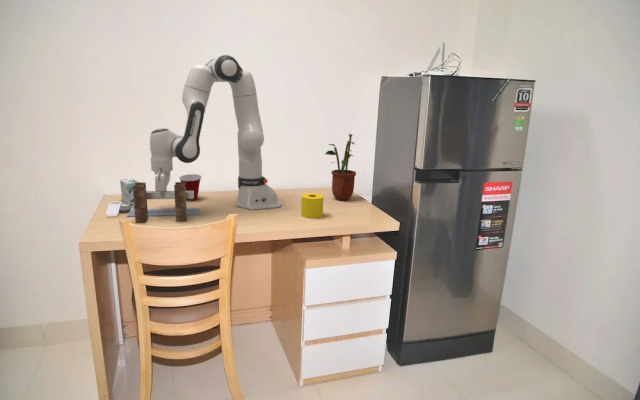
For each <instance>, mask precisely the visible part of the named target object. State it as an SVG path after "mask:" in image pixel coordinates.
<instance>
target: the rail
mask: <svg viewBox="0 0 640 400" xmlns="http://www.w3.org/2000/svg"><path fill="white" fill-rule="evenodd" d="M146 194H147V200H175V193H174V190H166V191H165V198H163V199H161V197H160V192H156V190H146ZM132 199H134V196H133V191H132V192H131V200H132ZM186 199H194V191H186Z"/></svg>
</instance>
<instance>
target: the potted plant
mask: <svg viewBox="0 0 640 400" xmlns="http://www.w3.org/2000/svg"><path fill="white" fill-rule="evenodd" d="M348 137H349V139H348V140H347V142H346V145H345V151H344V155H343V156H344V157H343V160H341V163H340V157H339V153H338V148H337V147H336V144H333V143H329V144H328V145H327V146H333V147H334V148H333V150H327V151H326V152H325V153H324V155H329V156H336V161H335V162H334V161H333V162H331V164H334V163H337V169H333V170H331V175H332V177H331V178H332V181H331V192H332V195H333V197H334V198H335V200H338V201H348V200H350V199H351V198H352V196H353V194H354V189H355V181H356V180H355V178H356V177H355V176H357V172H356V171H355V170H350V169H349V168H348V167H349V160H350V158H351V156H352V157H354V155H353V154H351V152H352V149H351V144H352V145H354V146H355V142H352V137H353V134H352V133H349V134H348ZM340 164H341V165H340ZM340 166H341V167H340Z"/></svg>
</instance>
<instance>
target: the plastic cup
mask: <svg viewBox="0 0 640 400" xmlns="http://www.w3.org/2000/svg"><path fill="white" fill-rule="evenodd" d="M178 179H179V182H185V187H186V191H194V199H186V202H187V201H189V202H190V201H191V202H193V201H197V200H198V196H199V190H200V183H201V179H202V175H200V174H196V173H194V174H193V173H192V174H191V173H190V174H189V173H188V174H183V175H181V176H179V177H178Z"/></svg>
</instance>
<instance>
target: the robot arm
mask: <svg viewBox="0 0 640 400" xmlns="http://www.w3.org/2000/svg"><path fill="white" fill-rule="evenodd" d="M220 82H221V83H228V84H229V85H230V88H231V94H232V100H233V109H234V114H235V120H236V125H237V153H238V177H237V187H238V191H237V198H236V202H235V205H236V206H237V207H239V208H244V209H248V210H251V211H253V210H265V209H277V208H278V209H279V208H280V207H282V204H283V203H282V201H281V200H280V199H279V198H278V196H277V192H276V191H275V190H274V188H272V187H270V186H269V185H268V184H267V183H269V182H268V181H269V180H268V179H267V178H266V177H265V176H264V175H263V159H262V158H263V157H262V150H261V149H262V148H261V147H262V146H263V145H264V142H265V135H264V130H263V125H262V120H261V114H260V111H259V110H260V109H259V102H258V95H257V93H258V92H257V87H256V84H255V81H254V77H253V74H252V73H251V72H250V71H249V70H246V69H243V68H242V67H241V65H240V64H239V62H238V61H237V59H236V58H235V57H233V56H231V55H229V54H224V55H223V54H222V55H217V56H216V57H213V58H212V59H211V60H209V61H208V63H206V64H201V63H198V64H197V63H196V64H194V65H193V66H192V67H191V69H190V70H189V72H188V75H187V77H186V80H185V82H184V85H183V86H184V87H183V90H182V100H181V101H182V104H183V105H184V107H185V110H186V113H187V116H186V117H187V118H186V123H185V126H184V127H185V128H184V133H183V135H180V134H177V133H175V132H173V131H171V130H170V129H169V128H158V129H155V130H153V131H151V133H150V137H149V149H150V150H149V151H150V153H151V157H150V168H151V170H150V171H151V172H154V175H155V177H154V184H155V185H154V187H155V188H154V191H156V192H160V197H161V199H160V200H164V199H163V198H165V191H168V190H167V189H168V188H167V187H168V185H169V183H170V182H171V181H170V180H171V172H172V171H173V166H174V165H173V158H177V159H178V160H179V161H180V162H181V163H184V164H190V163H193V162H195V161H196V160H197V159H199V156H200V154H201V146H200V136H201V132H202V126H203V123H204V122H203V121H204V116H205V112H206V108H207V105H208V103H209V102H208V101H209V99H210V94H211V91H212V87H213V85H214V84H215V83H220Z"/></svg>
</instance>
